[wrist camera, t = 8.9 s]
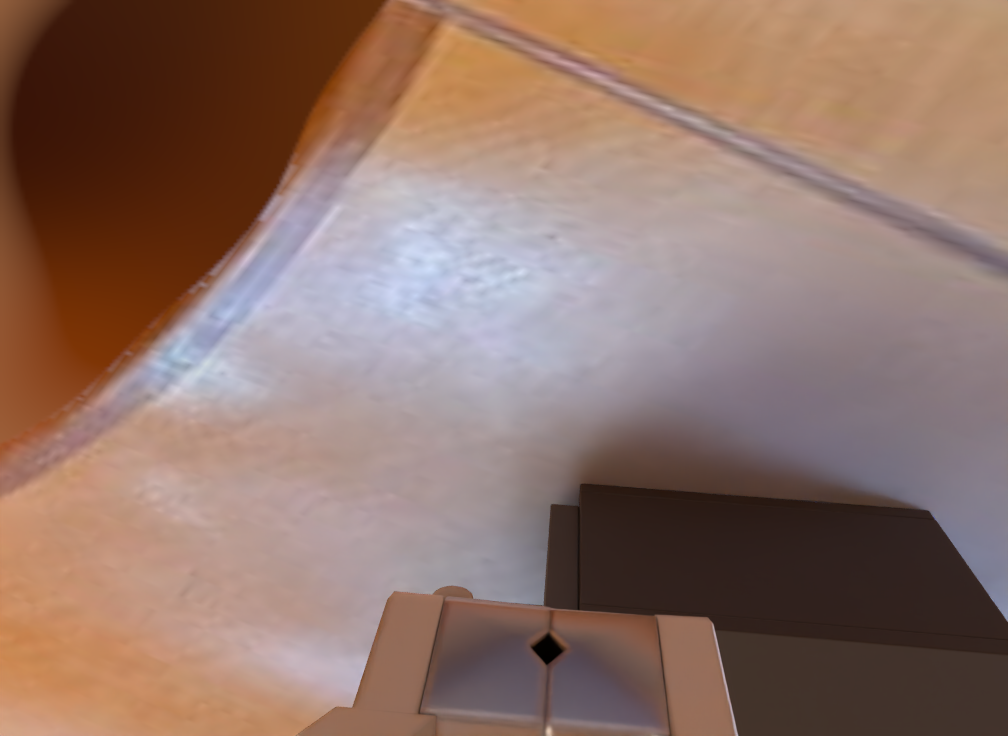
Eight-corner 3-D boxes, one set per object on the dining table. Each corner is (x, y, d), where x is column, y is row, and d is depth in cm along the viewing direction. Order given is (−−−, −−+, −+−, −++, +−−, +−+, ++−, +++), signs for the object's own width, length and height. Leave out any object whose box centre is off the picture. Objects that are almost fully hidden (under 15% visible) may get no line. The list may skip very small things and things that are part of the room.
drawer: (443, 693, 43) (416, 830, 36) (449, 495, 40) (420, 603, 32) (834, 729, 42) (886, 877, 35) (877, 528, 39) (946, 648, 31)
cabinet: (562, 701, 44) (556, 876, 35) (580, 482, 40) (580, 617, 31) (877, 730, 43) (954, 917, 34) (929, 509, 39) (1033, 656, 30)
